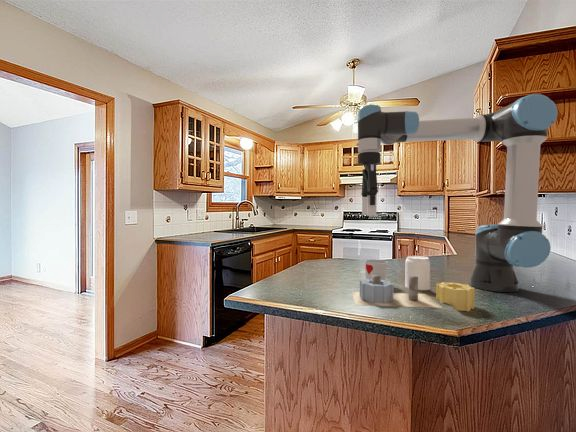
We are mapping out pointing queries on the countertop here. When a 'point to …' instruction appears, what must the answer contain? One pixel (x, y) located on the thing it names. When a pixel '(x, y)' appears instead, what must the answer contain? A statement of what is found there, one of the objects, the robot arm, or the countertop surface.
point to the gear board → (401, 296)
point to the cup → (376, 268)
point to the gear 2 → (456, 295)
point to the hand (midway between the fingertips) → (368, 215)
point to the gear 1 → (376, 291)
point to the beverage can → (418, 271)
